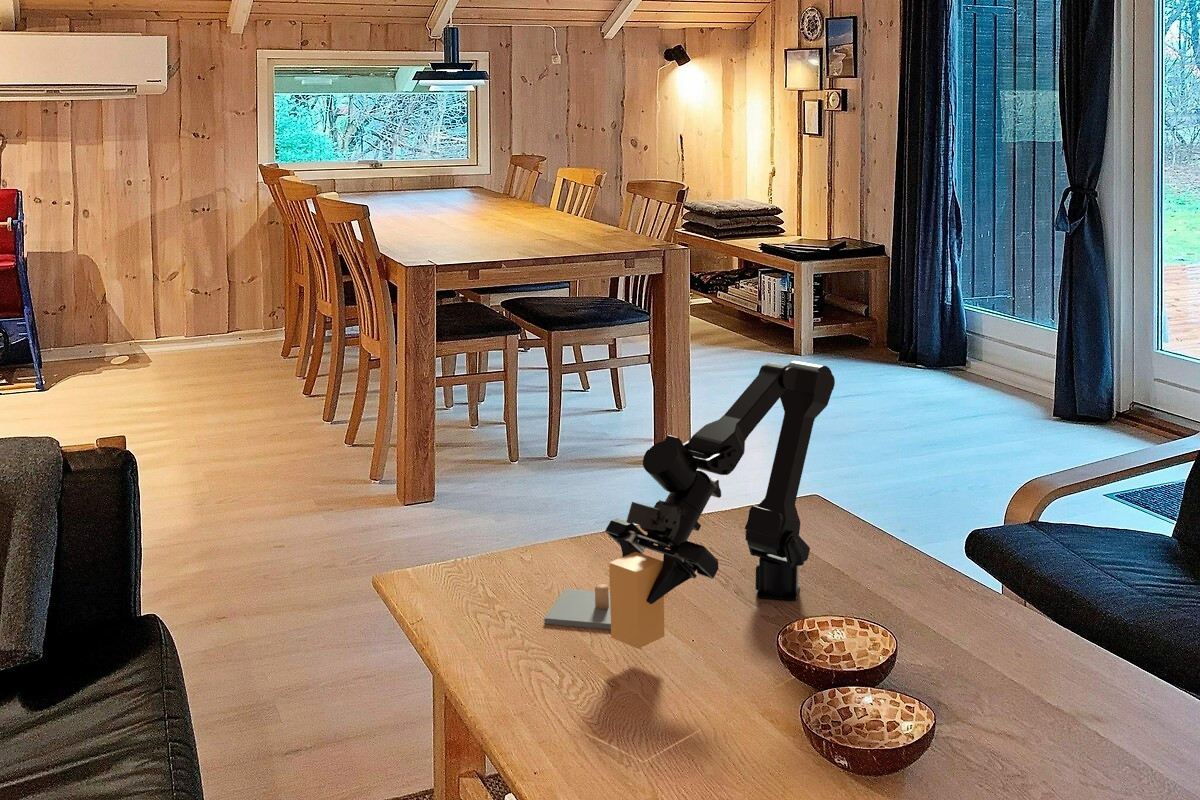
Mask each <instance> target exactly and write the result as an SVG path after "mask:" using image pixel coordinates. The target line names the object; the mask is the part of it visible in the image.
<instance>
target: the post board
mask: <svg viewBox="0 0 1200 800" xmlns="http://www.w3.org/2000/svg"><path fill="white" fill-rule="evenodd" d="M543 621H544V625H550V626H551V625H553V626H561V627H562V626H563V627H564V626H566V627H575V628H585V629H599V630H609V631H611V610H610V591H609V586H608V584H605V583H604V584H603V583H600V584H596V585H595V586H594V590H586V589H574V588H563V590H562V592H561V593H560V595H558V598H557V599H556V601H555V602H554V603H553V605H552V606H551V608H550V609H549V611H548V612H547V613H546V615H545V616H544V619H543Z"/></svg>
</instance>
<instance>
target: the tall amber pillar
mask: <svg viewBox="0 0 1200 800" xmlns="http://www.w3.org/2000/svg"><path fill="white" fill-rule="evenodd" d="M608 564H609V565H608V566H609V567H608V568H609V570H608V571H609V573H608V574H609V592H610V610H611V630H610V637H611V639H613V640H615V641H618V642H621V643H623V644H625V645H629V646H630V647H632V648H636V649H638V650H639V649H641V648H643V647H645V646H647V645H649V644H651V643H654V642H656V641H658V640H660V639H662V638H664V637H665V597H664V596H665V595H664V596H662V597H661V598H660V599H658V600H657V601H656V602H654V603H653V604H649V603H648V602H647V598H648V596H649V593H650V591H651V589H652V587H653V585H654V583H655V581H656V579H657V577H658V575H659V574H660V572H661V570H662V568H663V560H661V559H658V558H655V557H652V556H649V555H646V554H644V553H643V554H641V553H638V552H634V553H631V554H629V555H626V556H624V557H622V556H621V557H619V558H616V559H615V560H612V561H610V562H609V563H608Z"/></svg>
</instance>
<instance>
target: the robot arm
mask: <svg viewBox="0 0 1200 800" xmlns="http://www.w3.org/2000/svg"><path fill="white" fill-rule="evenodd" d="M835 381H836V379H835V376H834V375H833V373H832V370H831V368H830V367H829V366H827V365H823V364H817V363H811V362H805V361H802V360H793V361H790V362H789V364H788V365H787V364H782V363H777V362H771V361H770V362H766V363H764V364H762V365H761V367H760V368H759V372H758V374H757V376H756V377H754V379H753V380H752V381H751V382H750V384H749V385H748V386H747V388H745V390H744V391H743V392H742V393H741V395H739V397H738V398H737V399H736V400H735V402H733V404H732V405H731V406H730V407H729V409H727V411H726V412H725V413H724V414H723V415H722V416H721V417H720V418H719V419H716V420H714V421H712V422H710V423H706V424H705V425H704V426H702V427H701V428H700V429H699V430H697V432H695V433H694V434H693V435H692V436H691V438H690V439H689V440H687V441H685V442H684V443H683V442H682V440H681V439H680V437H677V436H674V435H669V434H668V435H666V437H665V439H664V440H663V441H659V442H657V443H655V444H653V445H652V446H651V447H650V448H648V449H646V451H645V453H644V456H643V459H642V466H643V469H644V470H645V471H646V472H647V474H648V475H650V476H651V477H652V479H653V480H654V481H655V482H656V483H657V484H658V485H660V487H661V488H662V489H663V490H664V491H666V492H668V493H669V494H668V495H667V497H666V498H665V501H664V500H660V499H659V500H658V501H657V502H655V504H654V506H650V505H647V504H642V503H638V502H635V501H631V503H630V506H629V507H630V508H629V511H628V514H627V518H626V520H624V519H620V518H618V517H616V518H614V519H611V520H610V522H608V524H607V526H606V528H605V531H604V532H605V533H606V534H607V535H608V536H609V537H611V539H613V540H614V541H615V542H616V543H617V545H619V546H620V549H621V553H622V556H621V558H622V557H624V556H626V555H629V554H631V553H634V552H638V553H641V554H644V552H645V549H647V550H650V551H653V552H656V553H660V554H663V559H662V561H663V568H662V570H661V572H660V574H659V575H658V577H657V579H656V581H655V583H654V585H653V587H652V589H651V591H650V593H649V596H648V598H647V602H648V603H649V604H653V603H654V602H656V601H657V600H658V599H660V598H661V597H662V596H666V595H667V594H668V593H669V592H671V591H672V590H674V589H675V588H677V587H679V586H680V585H682V584H683V583H685V582H686V581H688V580H689V579H696V578H697V577H698V575H700V576H703V577H705V578H708V579H711V580H714V578H715V576H716V575H717V572H718V570H719V560H718V559H717V558H716V557H715V555H713V553H711V552H710V551H709V549H708V548H707V547H706V546H704V545H702V544H698V543H696V542H692V541H689V540H688V539H690V535H691V534H692V532H693V531H696V532H699V530H700V528H701V527H702V525H701V524H700V522H699V520H700V517H701V515H702V513H703V511H704V510H705V508H706V506H707V504H708V502H709V500H710V499H711V497H715V498H718V499H720V498H721V497H722V489H721V487H720V481H719V479H717V478H713V477H710V476H709V475H708V474H707V473H706V472H709V473H712V474H715V475H719V476H728V475H730V474H732V472H733V471H734V470H735V469H736V467H737V465H738V464H739V463H740V461H741V458H742V457H743V456H744V454H745V449H746V446H745V445H746V441H747V439H748V437H749V436H750V434H751V433H752V432H753V431H754V430H755V428H756V427H757V426H758V425H759V423H760V422H761V421H762V420H763V419H764V417H765V416H767V414H768V413H769V411H770V410H772V408H773V407H774V406H775V404H776V403H777V402H778V400H779V399H780V401H781V405H782V408H783V412H784V414H783V419H782V423H781V427H780V431H779V436H778V441H777V445H776V450H775V453H774V459H773V463H772V467H771V471H770V475H769V480H768V485H767V489H766V493H765V497H764V498H763V500H761V502H759V504H758V505H757V506H756V505H752V506H751V507H750V509H749V510H748V517H747V518H748V519H747V521H746V524H745V526H744V529H745V541H746V542H747V546H748V549H749V553H750V556H752V557H753V556H754V557H757V558H759V561H758V562H757V563H756V566H755V590H756V591H757V594H756V597H757V598H760V599H769V600H770V599H771V600H772V599H773V600H784V601H796V600H798V596H799V595H798V594H799V591H800V588H801V587H800V586H801V584H800V582H799V576H800V575H799V573H800V572H799V569H800V568H799V567H800V566H803V565H805V562H806V561H808V559H809V556H810V550H811V548H810V546H809V545H808V544H807V543H806V542H805V541H804V539H803V538H802V537H801V536H800V529H801V519H800V517H799V513H798V510H797V507H796V502H797V496H798V494H799V493H798V492H799V488H800V483H801V480H802V479H801V478H802V476H803V471H804V467H805V461H806V458H807V454H808V453H807V452H808V449H809V445H810V441H811V436H812V432H813V427H814V422H815V420H816V418H817V417H818V416H819V415H821V413H822V412H823V411H824V410H825V409H826V408H827V406H828V405H829V402H830V399H831V395H832V393H833V391H834V389H835V383H836V382H835ZM704 471H705V472H704ZM635 524H636V525H638V526H639V527H637V526H636V525H635ZM643 531H644V532H646V533H647V534H645V533H644V532H643ZM697 574H698V575H697Z"/></svg>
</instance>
